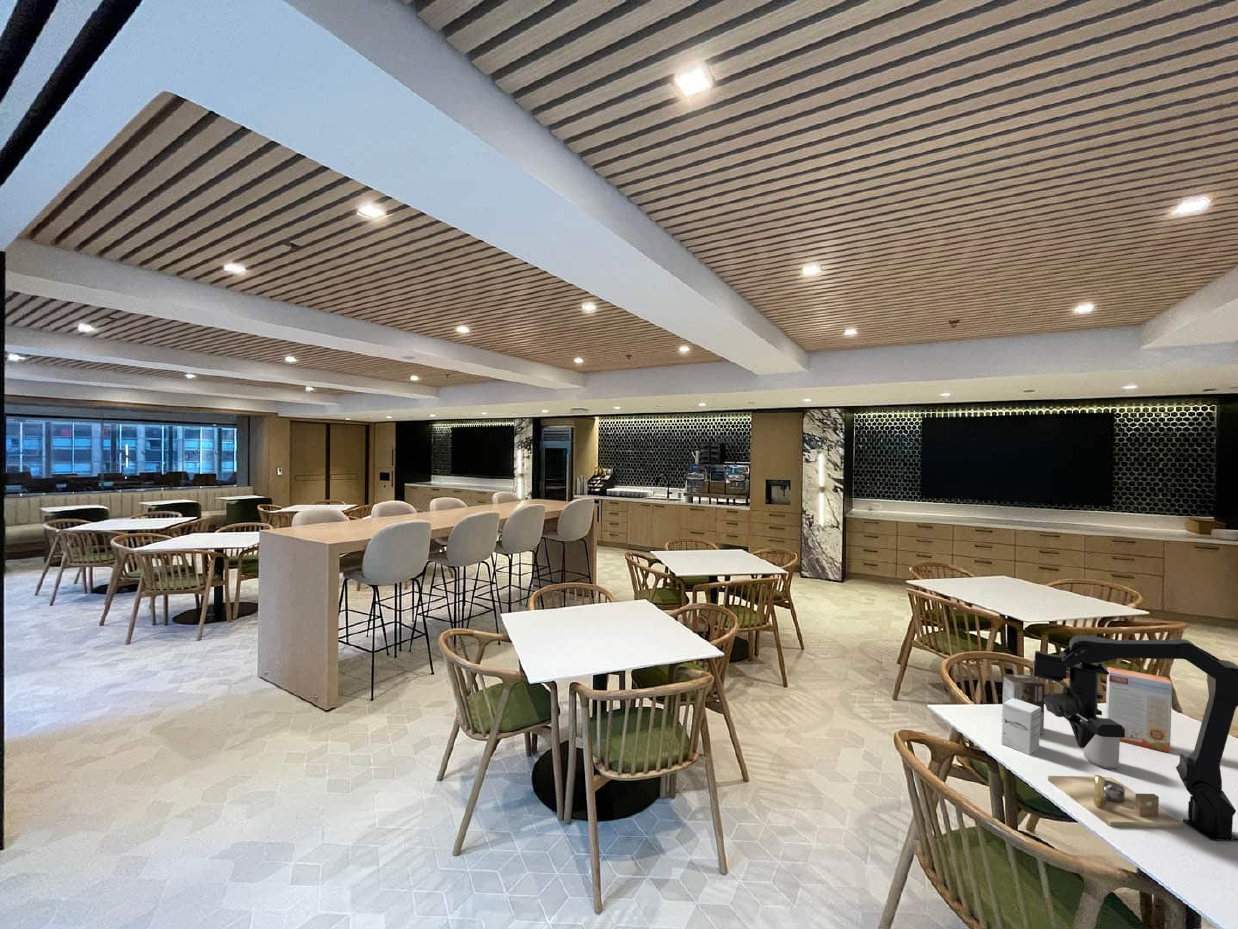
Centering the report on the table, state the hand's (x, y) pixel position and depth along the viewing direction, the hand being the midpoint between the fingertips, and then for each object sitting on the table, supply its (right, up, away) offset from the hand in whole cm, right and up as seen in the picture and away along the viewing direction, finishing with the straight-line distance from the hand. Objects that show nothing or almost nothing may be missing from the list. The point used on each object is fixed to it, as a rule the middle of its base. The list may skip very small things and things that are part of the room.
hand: (1081, 747), depth 139 cm
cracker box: (+40, -13, +27) cm, 50 cm away
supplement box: (+1, -12, +22) cm, 25 cm away
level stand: (+4, -12, -4) cm, 13 cm away
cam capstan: (+2, -10, -5) cm, 12 cm away
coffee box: (+10, -12, +34) cm, 37 cm away
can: (+18, -12, +15) cm, 26 cm away
